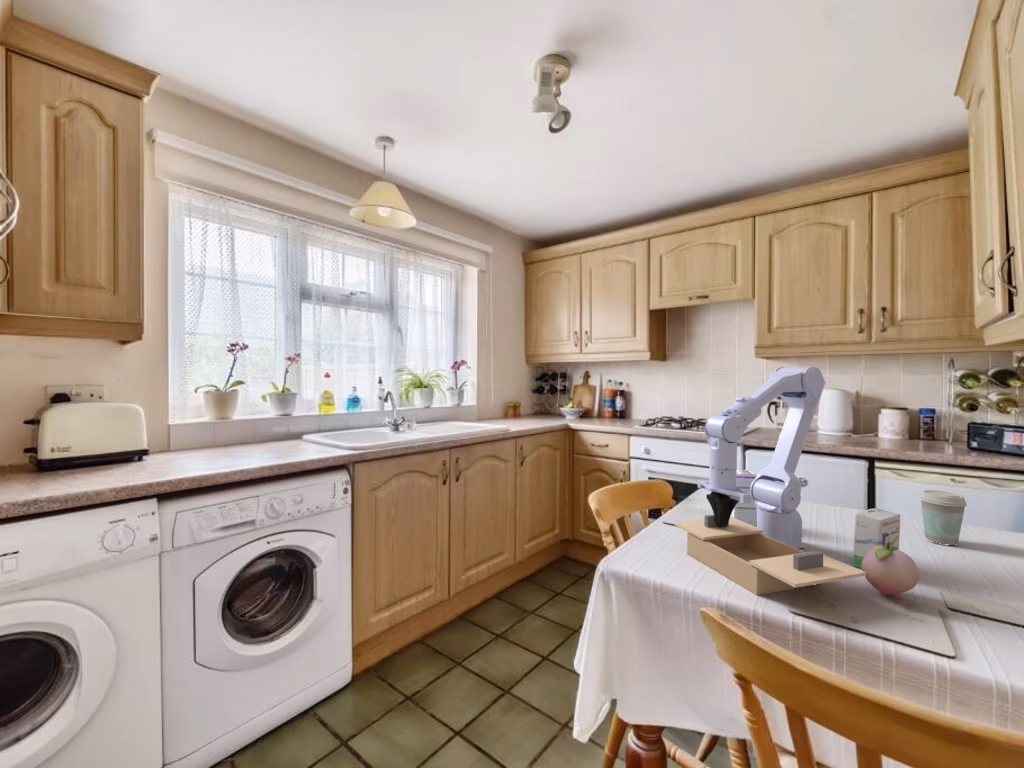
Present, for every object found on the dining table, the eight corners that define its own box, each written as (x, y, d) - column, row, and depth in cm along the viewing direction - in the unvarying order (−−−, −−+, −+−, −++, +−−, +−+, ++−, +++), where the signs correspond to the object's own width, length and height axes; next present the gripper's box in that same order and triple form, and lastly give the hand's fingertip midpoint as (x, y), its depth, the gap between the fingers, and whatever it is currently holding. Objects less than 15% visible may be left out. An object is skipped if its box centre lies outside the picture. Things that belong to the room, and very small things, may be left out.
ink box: (872, 558, 102) (873, 506, 102) (900, 567, 98) (901, 513, 97) (851, 566, 98) (852, 512, 98) (879, 575, 94) (881, 519, 93)
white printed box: (757, 527, 122) (758, 474, 122) (734, 525, 124) (734, 473, 123) (750, 520, 128) (751, 469, 128) (728, 519, 129) (729, 468, 129)
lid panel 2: (814, 554, 91) (815, 539, 91) (866, 575, 82) (866, 558, 82) (748, 563, 87) (749, 547, 86) (795, 587, 77) (795, 569, 77)
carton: (743, 546, 109) (743, 526, 109) (821, 584, 90) (822, 559, 89) (687, 554, 104) (687, 532, 104) (756, 595, 85) (757, 569, 85)
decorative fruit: (917, 613, 79) (919, 556, 79) (858, 597, 85) (860, 544, 84) (918, 594, 86) (920, 541, 86) (864, 580, 91) (865, 531, 91)
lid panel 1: (730, 519, 113) (731, 506, 113) (763, 532, 103) (763, 519, 103) (674, 525, 108) (674, 512, 108) (703, 540, 99) (703, 526, 99)
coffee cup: (927, 545, 110) (929, 496, 110) (912, 533, 118) (913, 488, 118) (973, 550, 107) (975, 500, 106) (954, 538, 115) (955, 491, 114)
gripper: (687, 462, 110) (686, 517, 110) (732, 475, 96) (731, 538, 97) (711, 460, 112) (710, 515, 112) (759, 473, 98) (757, 535, 99)
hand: (722, 525), depth 105 cm, fingers closed
